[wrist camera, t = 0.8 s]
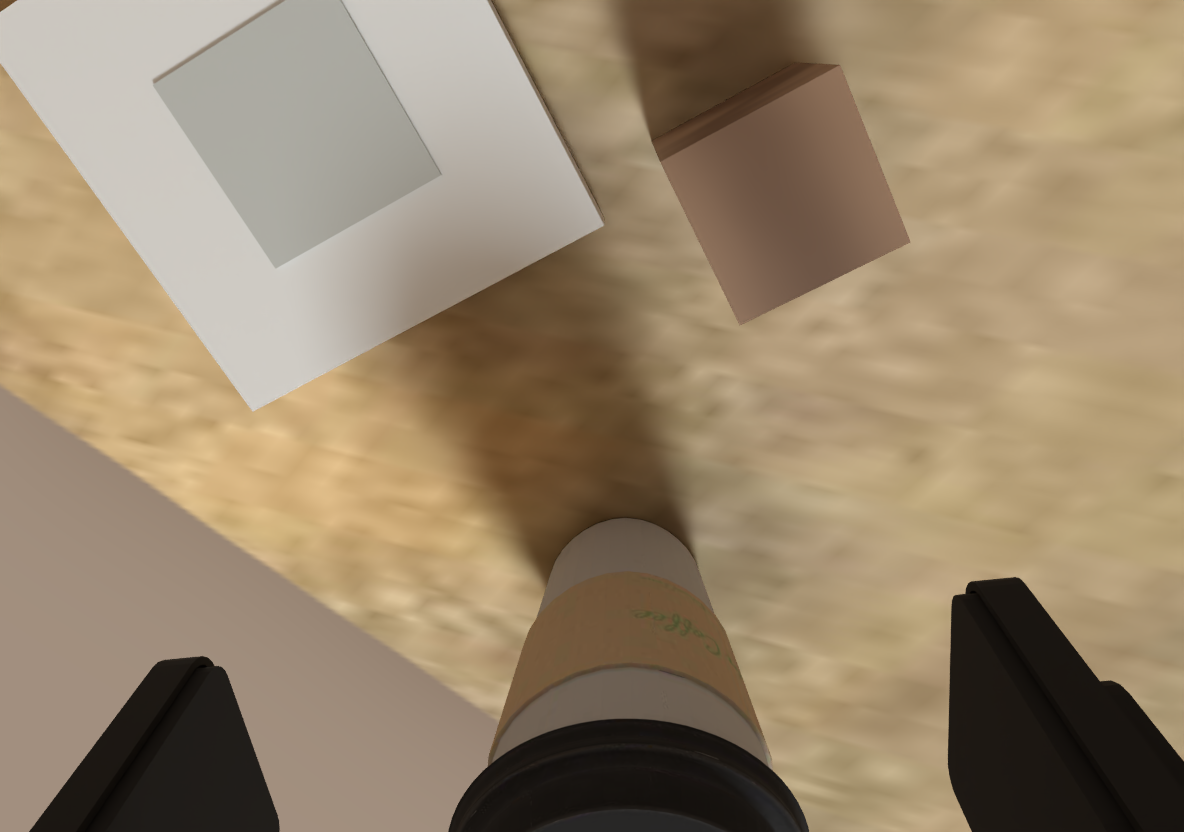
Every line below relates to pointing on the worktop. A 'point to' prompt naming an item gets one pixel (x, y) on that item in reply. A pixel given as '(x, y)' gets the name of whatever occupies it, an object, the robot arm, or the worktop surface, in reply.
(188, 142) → the plate
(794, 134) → the block walnut
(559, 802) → the coffee cup
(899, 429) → the worktop surface
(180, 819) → the robot arm
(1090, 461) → the worktop surface
